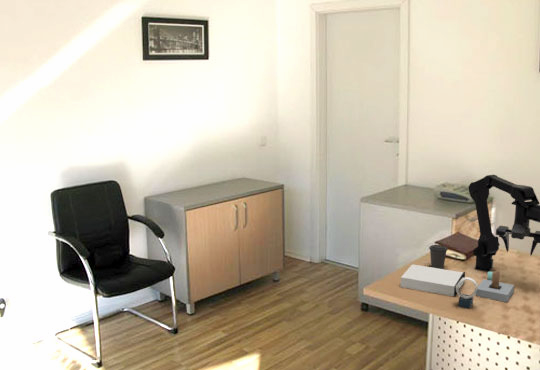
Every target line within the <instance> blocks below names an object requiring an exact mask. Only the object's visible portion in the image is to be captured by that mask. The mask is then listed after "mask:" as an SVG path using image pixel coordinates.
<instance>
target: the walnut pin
mask: <svg viewBox="0 0 540 370" xmlns="http://www.w3.org/2000/svg"><path fill="white" fill-rule="evenodd" d="M492 272H493V273H492V286H491V288H493V289H498V290H499V282H500V276H501V273H500V272H501V271H492Z"/></svg>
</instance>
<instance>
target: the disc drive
mask: <svg viewBox="0 0 540 370" xmlns="http://www.w3.org/2000/svg"><path fill="white" fill-rule="evenodd" d="M465 277H466V271H463V272H462V271H457V270H456V271H455V270H450V269H444V268H443V269H438V268H432V267H431V266H426V265H425V266H424V265H419V264H411V265H410V266H409V267H408V268H407V270H406V271H405V272H403V274H402V275H401V277H400V288H404V289H411V290H414V291H415V290H416V291H422V292H427V293H433V294H439V295H443V294H444V295H443V296H450V297H454V298H456V297H457V295H458V294H457V292H456V288H455V287H456V285H457V284H458V282H459V281H460V280H461V279H462V278H465ZM463 285H465V282H464V283H463ZM463 285H462V286H461V287H460V288H459V291H460V290H461V289H462V287H463Z"/></svg>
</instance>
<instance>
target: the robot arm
mask: <svg viewBox="0 0 540 370" xmlns="http://www.w3.org/2000/svg"><path fill="white" fill-rule="evenodd" d="M492 188H496V189H498V190H500V191H503V192H504V193H507V194H509V195H510V197H511V198H512V199H513V201H512V202H511V203H510V204H511V205H512V206H515V212H514V220H513V221H514V222H513V224H512V227H511V228H510V227H509V226H505V225H499V226H498V227H497V228H496V230H495V234H494V233H493V231H492V229H493V228H492V225H491V219H490V218H491V217H490V213H489V212H490V211H489V207H488V198H489V196H490V190H491V189H492ZM468 192H469V196H470V198H471V199H472V200H473V202H474V203H475V211H476V216H477V221H478V222H477V223H478V227H479V228H478V229H479V237H478V241H477V247H475V248H474V249H473V250H472V254H473V256H474V257H476V258H475V267H474V268H473V269H474V270H478V271H483V272H487V273H488V272H490V271H491V270H492V269H493V268H494V259H493V257H494V256H496V255H497V253H498V251H499V248H500V243H499V238H501V240H503V242H504V247H505V250H506V252H509V247H510V237H511V238H512V239H517V240H518V239H519V240H524V239H525V237H526V238H528V237H529V238H533V240H532V243H531V248H530V254H529V255H530V256H532V255H533V253H534V251H535V248H536V247H537V245H538V244H540V231H539V230H535V232H531V228H530V222H531V221H533V222H536V223H540V201H539V199H538V197H537V194H536V192H535V189H534V188H533V187H532V186H529V185H523V184H516V183H513V182H512V181H509V180H507V179H504V178H502V177H500V176H498V175H496V174H488V175H485V176H484V177H482V178H480V179H478V180H476V181H474V182H470V184H469V186H468ZM510 235H511V236H510Z"/></svg>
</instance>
